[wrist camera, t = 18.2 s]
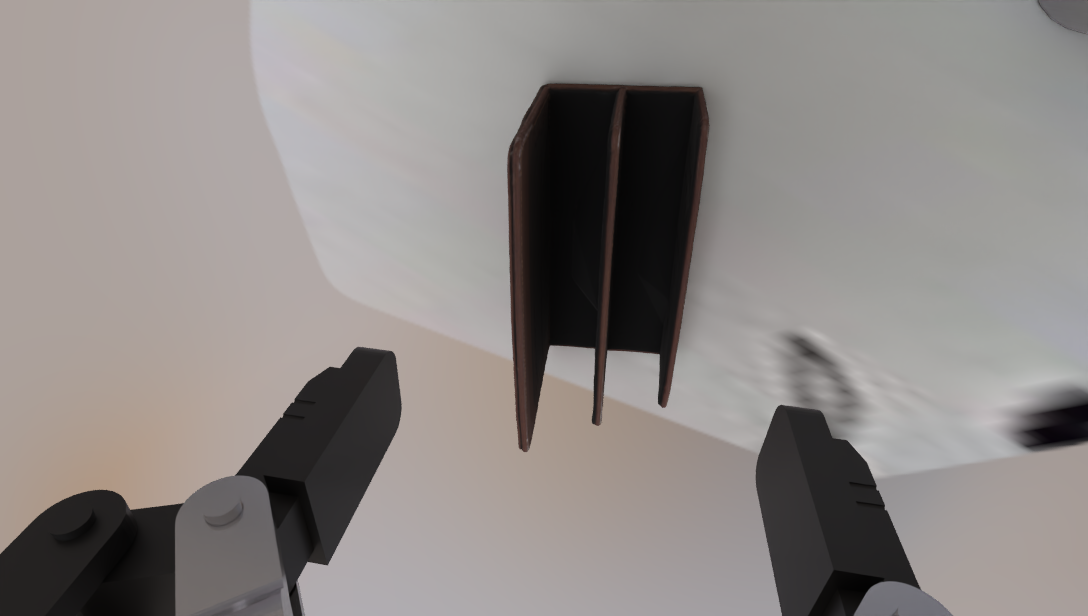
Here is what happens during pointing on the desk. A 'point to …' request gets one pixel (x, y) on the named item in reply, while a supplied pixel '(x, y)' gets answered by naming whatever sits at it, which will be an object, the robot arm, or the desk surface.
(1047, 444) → the desk surface
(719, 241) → the desk surface
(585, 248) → the letter holder
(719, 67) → the desk surface
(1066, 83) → the desk surface
